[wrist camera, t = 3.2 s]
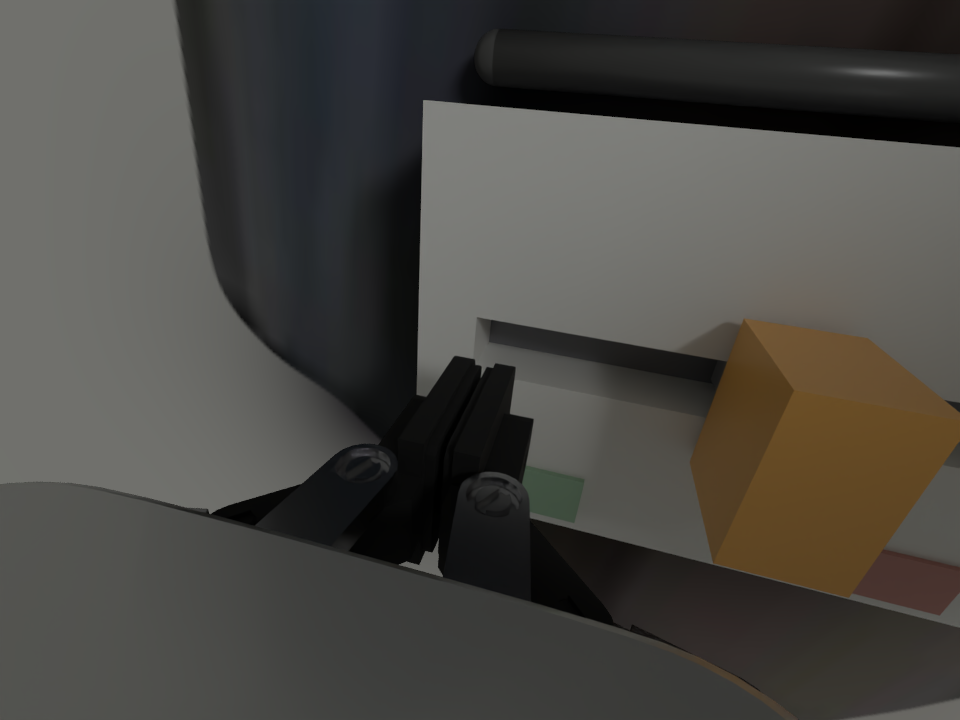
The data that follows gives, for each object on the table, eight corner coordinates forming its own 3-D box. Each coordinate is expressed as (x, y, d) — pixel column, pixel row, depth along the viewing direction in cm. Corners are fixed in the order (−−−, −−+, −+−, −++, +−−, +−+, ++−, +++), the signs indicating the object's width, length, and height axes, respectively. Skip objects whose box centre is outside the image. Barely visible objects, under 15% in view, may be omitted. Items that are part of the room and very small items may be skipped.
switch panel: (1310, 80, 12) (1749, 47, 7) (952, 533, 19) (1056, 657, 15) (477, 32, 16) (422, -8, 11) (451, 421, 23) (412, 491, 19)
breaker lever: (829, 307, 14) (972, 423, 8) (768, 439, 16) (848, 597, 11) (725, 291, 15) (794, 390, 9) (680, 421, 17) (713, 563, 11)
